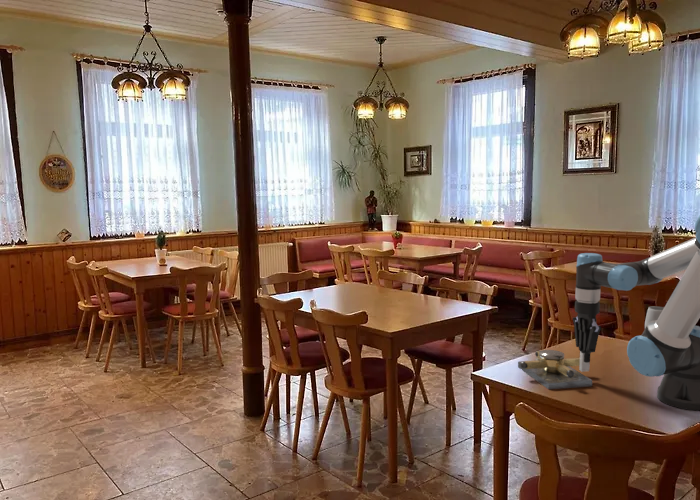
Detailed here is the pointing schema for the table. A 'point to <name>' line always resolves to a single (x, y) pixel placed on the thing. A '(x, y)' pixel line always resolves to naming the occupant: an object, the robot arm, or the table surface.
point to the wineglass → (653, 314)
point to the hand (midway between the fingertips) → (584, 370)
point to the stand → (557, 378)
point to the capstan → (552, 362)
